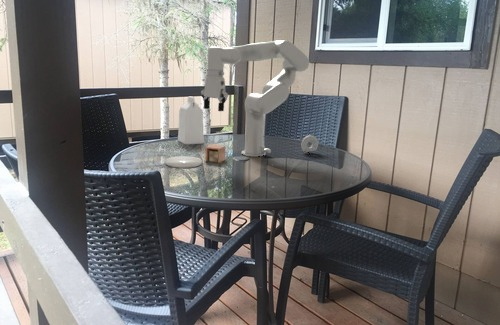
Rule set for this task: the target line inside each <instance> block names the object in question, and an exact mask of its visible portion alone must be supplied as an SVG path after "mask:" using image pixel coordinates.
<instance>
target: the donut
mask: <svg viewBox="0 0 500 325" xmlns="http://www.w3.org/2000/svg"><path fill="white" fill-rule="evenodd" d="M309 142H310V143H311V145H310V146H308V144H309ZM300 143H301V144H300V146H301V150H302V151H303V152H304V151H306V152H309V151H315V152H316V151H317V149H318V148H319V140H318V138H317V137H316V136H315V135H311V134H310V135H309V134H308V135H306V136H305V137H304V138H302V141H301V142H300Z"/></svg>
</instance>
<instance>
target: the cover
mask: <svg viewBox="0 0 500 325" xmlns="http://www.w3.org/2000/svg"><path fill="white" fill-rule="evenodd" d="M213 149H215V150H218V162H217V163H218V164H221V163H222V162H224V161H225V160H226V145H221V144H214V143H213V144H210V145H207V146H205V155H204V156H205V158H204V159H205V160H204V161H205V162H209V152H210V151H211V150H213Z"/></svg>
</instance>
